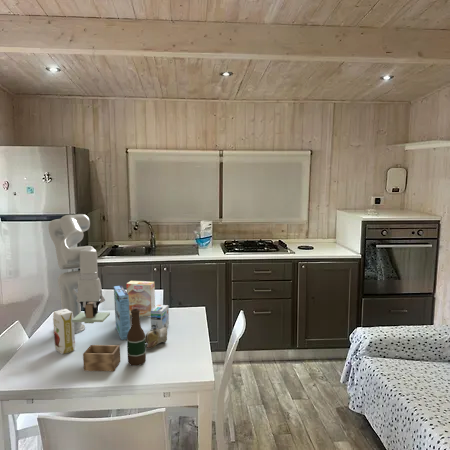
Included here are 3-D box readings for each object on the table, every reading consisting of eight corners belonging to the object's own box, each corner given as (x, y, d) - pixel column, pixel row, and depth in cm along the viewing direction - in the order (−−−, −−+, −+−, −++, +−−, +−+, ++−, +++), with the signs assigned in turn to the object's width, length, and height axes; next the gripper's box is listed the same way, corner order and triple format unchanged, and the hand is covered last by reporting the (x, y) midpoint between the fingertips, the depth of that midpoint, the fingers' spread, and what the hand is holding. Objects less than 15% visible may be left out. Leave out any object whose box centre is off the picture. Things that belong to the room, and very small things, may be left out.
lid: (72, 324, 183) (71, 306, 182) (80, 316, 192) (79, 300, 191) (102, 324, 182) (102, 307, 181) (110, 317, 192) (109, 300, 191)
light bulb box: (162, 330, 215) (162, 311, 214) (150, 330, 217) (150, 310, 215) (169, 323, 226) (168, 304, 224) (157, 322, 227) (157, 304, 226)
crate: (83, 370, 172) (82, 353, 171) (91, 361, 181) (90, 345, 180) (114, 371, 171) (113, 354, 170) (120, 361, 180) (119, 345, 179)
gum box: (130, 338, 205) (129, 294, 202) (120, 340, 203) (118, 296, 200) (124, 325, 223) (122, 285, 220) (114, 327, 221) (113, 286, 218)
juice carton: (69, 345, 198) (67, 307, 195) (77, 350, 191) (74, 311, 189) (53, 350, 192) (51, 311, 190) (61, 355, 186) (58, 315, 184)
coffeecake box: (127, 315, 238) (125, 283, 236) (131, 311, 245) (130, 280, 243) (151, 317, 236) (150, 284, 233) (155, 313, 243) (154, 281, 240)
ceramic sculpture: (172, 326, 198) (145, 336, 188) (173, 343, 199) (147, 354, 189) (160, 320, 206) (134, 330, 196) (161, 336, 207) (135, 347, 197)
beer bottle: (137, 367, 174) (135, 314, 171) (124, 363, 178) (122, 310, 175) (149, 360, 181) (148, 308, 178) (136, 356, 185) (135, 305, 182)
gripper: (68, 278, 181) (70, 317, 184) (104, 278, 181) (106, 318, 183) (74, 274, 189) (77, 312, 191) (109, 274, 188) (111, 312, 190)
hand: (91, 314), depth 187 cm, fingers closed on lid, 3 cm apart
